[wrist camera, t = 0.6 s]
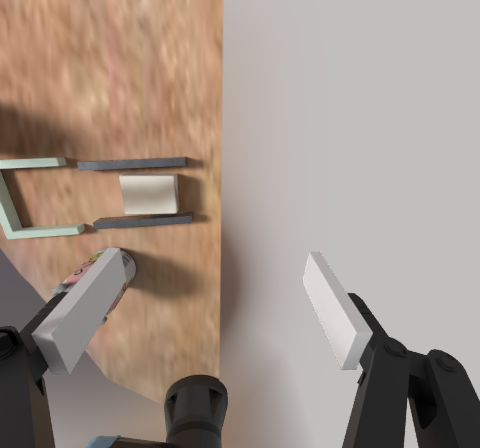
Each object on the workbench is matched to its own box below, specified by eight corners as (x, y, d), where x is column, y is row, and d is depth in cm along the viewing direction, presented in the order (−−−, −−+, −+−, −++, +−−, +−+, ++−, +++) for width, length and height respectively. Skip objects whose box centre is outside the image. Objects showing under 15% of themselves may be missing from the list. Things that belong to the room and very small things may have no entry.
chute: (193, 218, 41) (191, 222, 39) (101, 224, 40) (94, 229, 38) (186, 156, 38) (184, 157, 35) (85, 161, 36) (76, 162, 34)
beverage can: (110, 294, 45) (75, 344, 33) (77, 264, 42) (26, 308, 31) (147, 269, 44) (123, 312, 32) (115, 237, 41) (76, 271, 30)
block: (179, 207, 41) (176, 213, 37) (133, 207, 40) (125, 214, 36) (177, 173, 39) (173, 176, 35) (128, 173, 38) (119, 176, 34)
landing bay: (85, 229, 40) (78, 234, 38) (17, 234, 39) (7, 239, 37) (64, 157, 36) (56, 157, 34) (-12, 160, 35) (-25, 161, 33)
